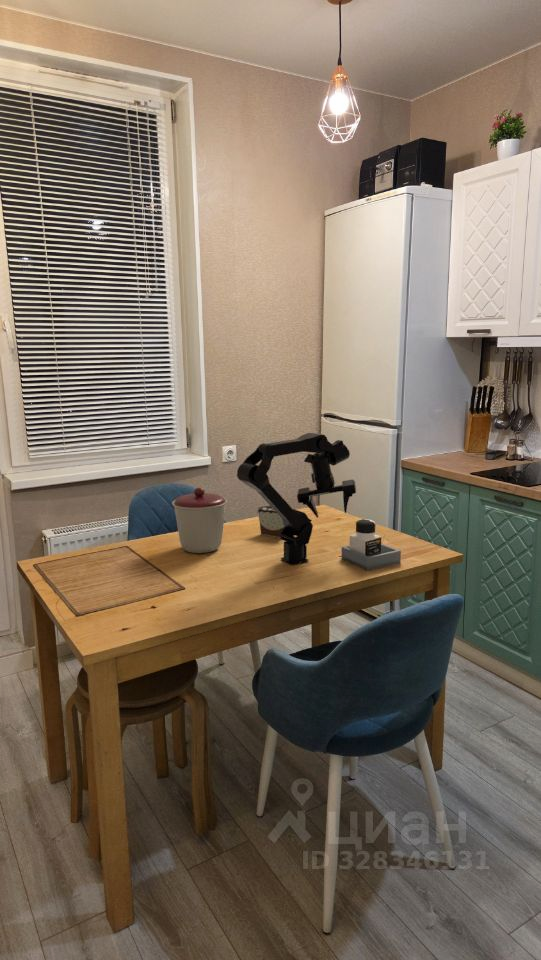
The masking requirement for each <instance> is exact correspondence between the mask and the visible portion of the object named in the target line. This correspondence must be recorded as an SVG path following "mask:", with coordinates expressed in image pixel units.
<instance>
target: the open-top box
mask: <svg viewBox="0 0 541 960" xmlns="http://www.w3.org/2000/svg"><path fill="white" fill-rule="evenodd" d="M401 554H402V551H401V550H400V549H398V548H395V547H392V546H390V545H388V544H384V543H382V542H381V554H378V555H374V556H369V557H368V556H366V555H363V554H361V553H359V552H356V551H354V550H352V549H350V544H349V545H344V546H341V560H343V561H344V562H348V563H350V564H352V565H355V566H356V567H359V568H360V569H362V570H364V571H372V570H376V569H377V570H378V569H381V568H385V567H391V566H395V565H398V564H401V560H402V559H401V557H402V556H401Z"/></svg>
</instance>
